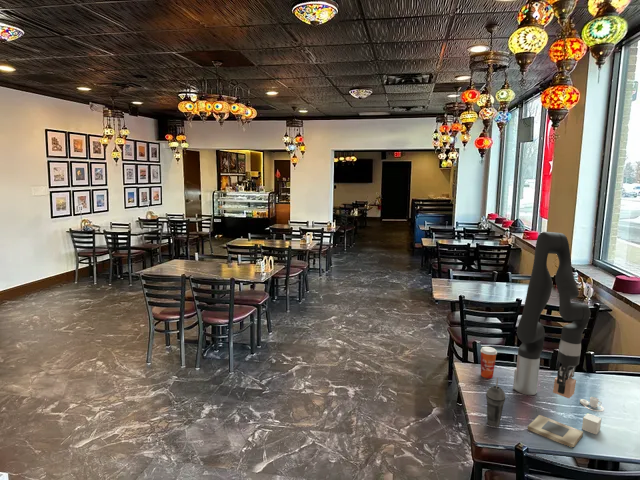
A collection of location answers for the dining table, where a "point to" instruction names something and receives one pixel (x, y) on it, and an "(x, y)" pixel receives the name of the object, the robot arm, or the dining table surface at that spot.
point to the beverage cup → (494, 404)
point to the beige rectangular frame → (555, 431)
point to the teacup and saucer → (592, 403)
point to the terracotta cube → (568, 387)
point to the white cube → (591, 423)
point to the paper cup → (487, 361)
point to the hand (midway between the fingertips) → (563, 390)
